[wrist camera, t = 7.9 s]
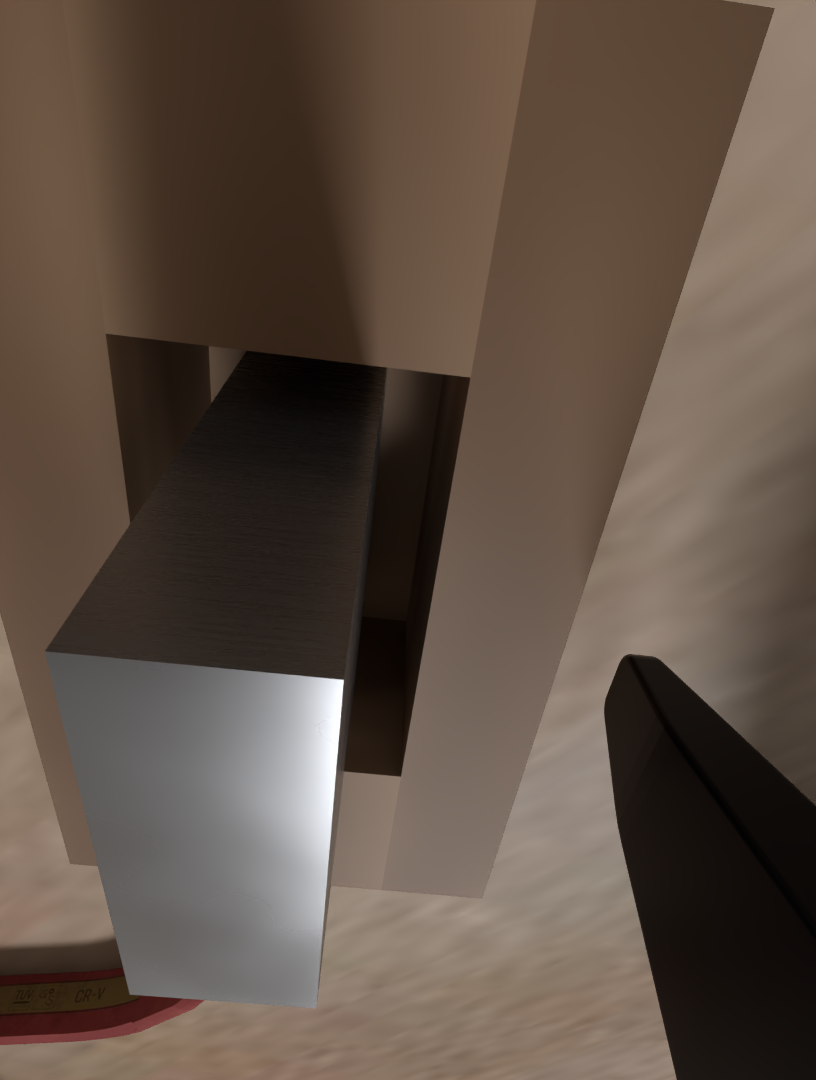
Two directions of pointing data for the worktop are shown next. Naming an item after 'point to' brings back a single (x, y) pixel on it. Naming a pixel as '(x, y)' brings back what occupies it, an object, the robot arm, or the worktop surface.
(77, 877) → the worktop surface
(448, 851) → the rectangular wooden block
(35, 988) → the pliers
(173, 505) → the upright grey slab
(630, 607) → the worktop surface
